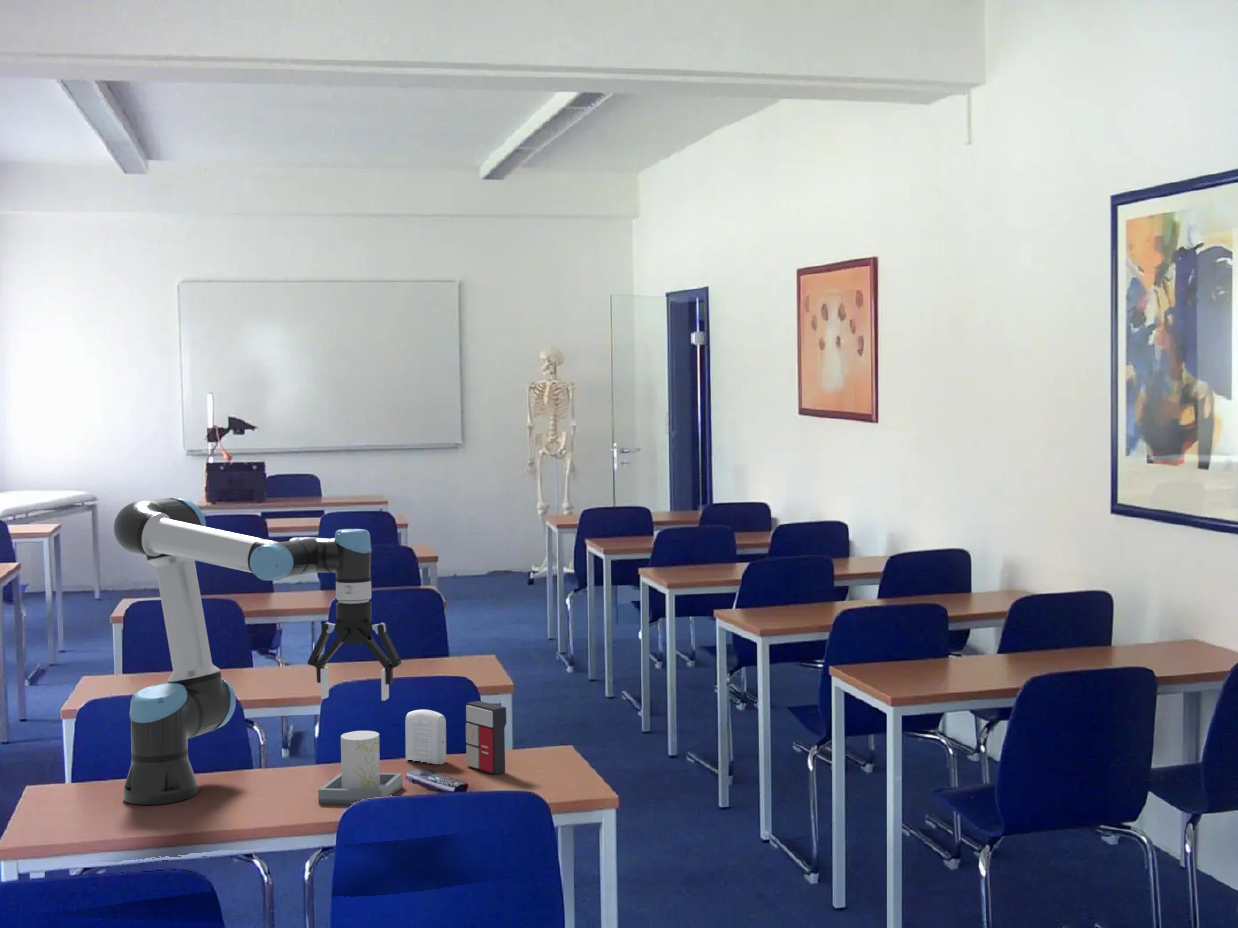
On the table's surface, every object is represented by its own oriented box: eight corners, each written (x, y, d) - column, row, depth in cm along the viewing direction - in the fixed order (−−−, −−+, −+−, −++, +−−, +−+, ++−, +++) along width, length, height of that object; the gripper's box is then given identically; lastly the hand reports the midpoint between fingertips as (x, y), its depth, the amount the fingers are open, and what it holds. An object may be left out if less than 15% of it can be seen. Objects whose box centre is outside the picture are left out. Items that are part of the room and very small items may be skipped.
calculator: (464, 766, 304) (463, 703, 303) (479, 763, 306) (478, 700, 306) (492, 775, 295) (491, 710, 295) (507, 772, 298) (506, 707, 298)
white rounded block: (449, 761, 309) (448, 709, 308) (439, 765, 305) (438, 713, 305) (413, 757, 313) (412, 706, 313) (403, 761, 309) (401, 709, 309)
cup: (358, 797, 275) (357, 741, 275) (333, 791, 280) (332, 736, 280) (387, 788, 282) (387, 734, 281) (362, 782, 287) (362, 728, 286)
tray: (318, 803, 275) (318, 789, 275) (341, 785, 289) (341, 772, 289) (382, 804, 273) (382, 790, 273) (402, 786, 287) (402, 773, 287)
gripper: (291, 602, 279) (293, 700, 279) (404, 603, 275) (405, 703, 276) (305, 597, 286) (306, 693, 287) (414, 599, 283) (415, 696, 283)
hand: (354, 698), depth 281 cm, fingers open, 13 cm apart
